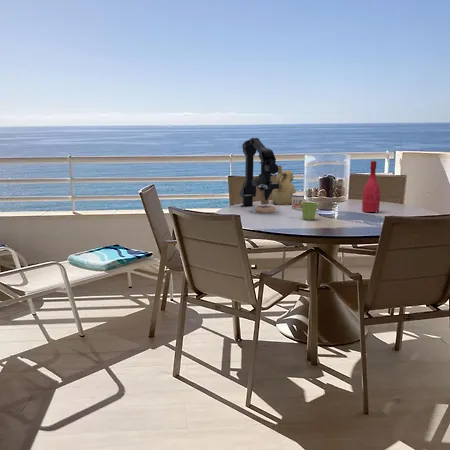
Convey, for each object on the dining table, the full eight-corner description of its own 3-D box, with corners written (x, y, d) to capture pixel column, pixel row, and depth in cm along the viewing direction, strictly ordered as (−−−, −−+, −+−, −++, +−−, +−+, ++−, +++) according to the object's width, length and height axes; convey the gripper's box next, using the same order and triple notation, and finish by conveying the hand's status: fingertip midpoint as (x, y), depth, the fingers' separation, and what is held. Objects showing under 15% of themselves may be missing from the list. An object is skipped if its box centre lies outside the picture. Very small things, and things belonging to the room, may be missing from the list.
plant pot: (299, 217, 277) (299, 201, 275) (316, 217, 277) (317, 202, 275) (300, 220, 268) (301, 204, 266) (318, 220, 268) (319, 204, 266)
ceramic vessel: (300, 203, 331) (302, 164, 326) (288, 206, 314) (289, 166, 309) (277, 200, 339) (278, 163, 334) (264, 204, 323) (265, 165, 318)
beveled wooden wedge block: (260, 204, 287) (261, 190, 286) (266, 203, 289) (266, 189, 288) (263, 204, 286) (263, 190, 284) (268, 204, 288) (269, 190, 286)
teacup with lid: (289, 210, 302) (290, 190, 300) (292, 207, 310) (293, 188, 308) (309, 211, 298) (310, 191, 296) (312, 209, 306) (313, 189, 304)
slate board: (247, 212, 291) (247, 211, 291) (267, 210, 298) (267, 209, 298) (260, 215, 281) (260, 214, 281) (280, 213, 288) (280, 212, 288)
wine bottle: (360, 212, 295) (363, 161, 289) (362, 210, 304) (366, 160, 298) (378, 213, 291) (381, 161, 286) (379, 211, 300) (383, 160, 295)
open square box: (255, 211, 290) (255, 206, 289) (266, 210, 294) (266, 205, 293) (263, 213, 283) (263, 208, 282) (274, 212, 287) (275, 207, 287)
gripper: (244, 171, 288) (244, 198, 291) (264, 174, 272) (263, 203, 275) (260, 170, 294) (259, 197, 297) (280, 173, 278) (279, 201, 281)
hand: (265, 199), depth 287 cm, fingers closed on beveled wooden wedge block, 2 cm apart
